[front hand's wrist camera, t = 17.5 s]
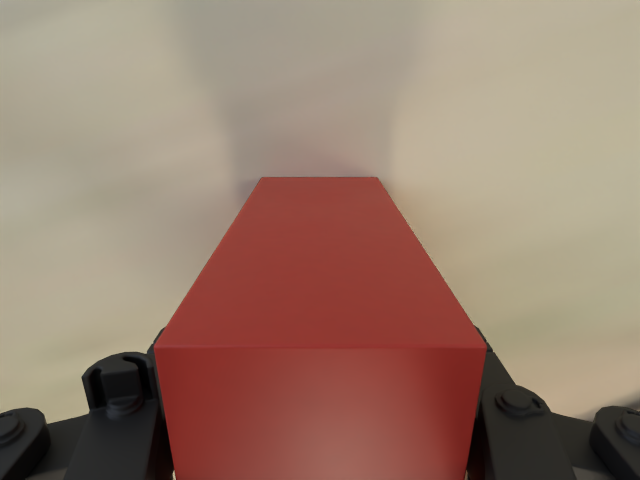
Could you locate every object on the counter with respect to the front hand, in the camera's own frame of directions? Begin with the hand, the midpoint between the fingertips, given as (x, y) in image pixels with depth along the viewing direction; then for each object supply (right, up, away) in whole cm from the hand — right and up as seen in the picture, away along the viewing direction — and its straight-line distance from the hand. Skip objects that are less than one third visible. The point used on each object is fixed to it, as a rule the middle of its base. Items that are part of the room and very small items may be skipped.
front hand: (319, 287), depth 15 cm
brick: (0, +1, +3) cm, 3 cm away
